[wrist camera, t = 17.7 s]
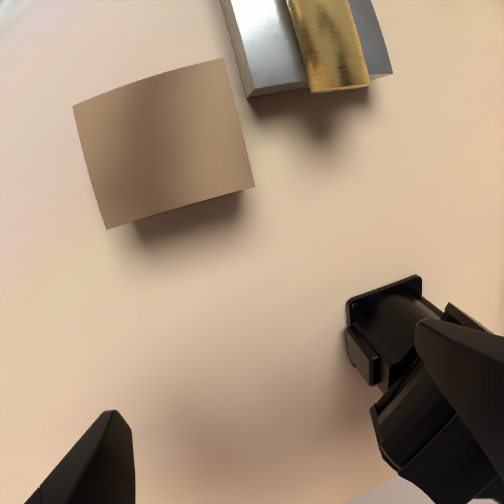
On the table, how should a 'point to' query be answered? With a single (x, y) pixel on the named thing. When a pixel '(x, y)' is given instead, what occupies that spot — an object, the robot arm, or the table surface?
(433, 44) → the table surface
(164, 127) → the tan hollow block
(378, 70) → the block
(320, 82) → the brass rod
